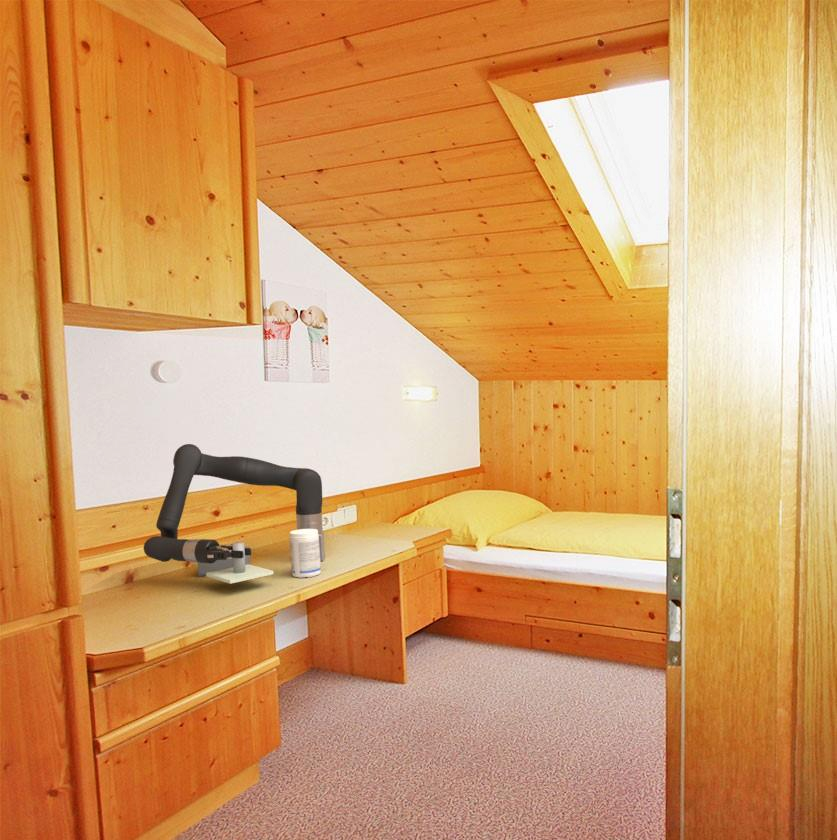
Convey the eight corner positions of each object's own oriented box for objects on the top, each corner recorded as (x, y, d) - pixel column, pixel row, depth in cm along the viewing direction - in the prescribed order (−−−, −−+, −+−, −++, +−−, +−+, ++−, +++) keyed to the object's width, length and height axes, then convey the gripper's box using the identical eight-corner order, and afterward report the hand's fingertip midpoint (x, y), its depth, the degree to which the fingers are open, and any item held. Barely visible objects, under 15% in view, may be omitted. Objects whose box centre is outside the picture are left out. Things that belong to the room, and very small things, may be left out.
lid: (248, 567, 236) (247, 536, 235) (273, 574, 225) (272, 542, 224) (206, 576, 225) (204, 544, 225) (230, 583, 214) (228, 550, 214)
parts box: (250, 566, 256) (249, 546, 256) (239, 575, 242) (238, 554, 242) (211, 567, 256) (210, 548, 256) (198, 577, 242) (197, 556, 242)
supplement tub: (326, 572, 241) (324, 528, 241) (311, 579, 232) (309, 534, 232) (301, 570, 245) (299, 527, 245) (285, 577, 236) (283, 533, 236)
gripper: (186, 543, 223) (232, 545, 217) (214, 535, 236) (259, 536, 230) (187, 567, 223) (233, 570, 217) (215, 557, 237) (260, 560, 230)
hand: (246, 553), depth 224 cm, fingers closed on lid, 3 cm apart
